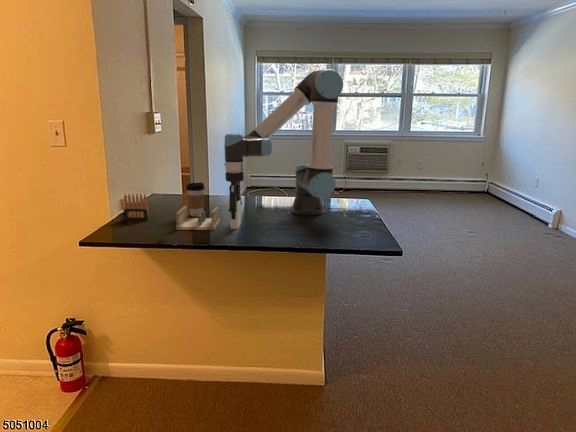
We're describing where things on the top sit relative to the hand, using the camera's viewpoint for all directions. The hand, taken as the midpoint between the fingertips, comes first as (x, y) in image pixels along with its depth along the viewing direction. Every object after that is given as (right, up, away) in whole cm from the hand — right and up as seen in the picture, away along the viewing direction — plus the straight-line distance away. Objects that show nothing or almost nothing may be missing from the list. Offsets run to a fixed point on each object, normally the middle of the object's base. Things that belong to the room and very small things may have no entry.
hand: (235, 222), depth 190 cm
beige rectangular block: (0, -1, 0) cm, 1 cm away
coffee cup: (-20, +3, +17) cm, 27 cm away
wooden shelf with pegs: (-16, -1, +1) cm, 16 cm away
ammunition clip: (-46, +1, +9) cm, 47 cm away
